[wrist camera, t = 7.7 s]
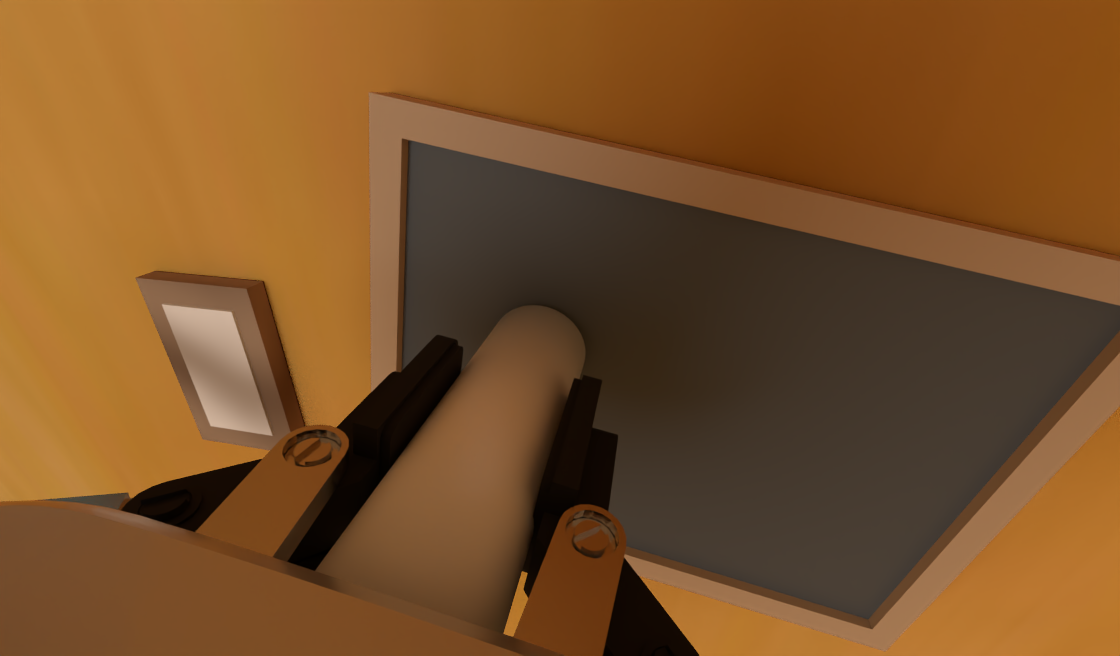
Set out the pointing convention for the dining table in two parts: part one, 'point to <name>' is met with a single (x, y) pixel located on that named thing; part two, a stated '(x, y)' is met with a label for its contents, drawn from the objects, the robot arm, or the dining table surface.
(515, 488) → the cylinder
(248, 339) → the picture frame
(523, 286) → the slate
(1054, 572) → the dining table surface
